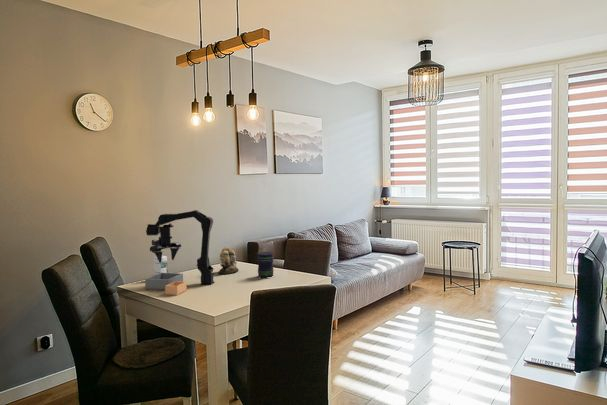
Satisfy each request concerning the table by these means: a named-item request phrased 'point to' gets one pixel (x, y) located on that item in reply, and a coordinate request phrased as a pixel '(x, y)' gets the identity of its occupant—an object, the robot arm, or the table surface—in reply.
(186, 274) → the table surface
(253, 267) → the table surface
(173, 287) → the orange crate
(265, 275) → the storage jar
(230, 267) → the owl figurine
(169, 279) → the grey crate
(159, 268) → the syrup box
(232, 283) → the table surface
